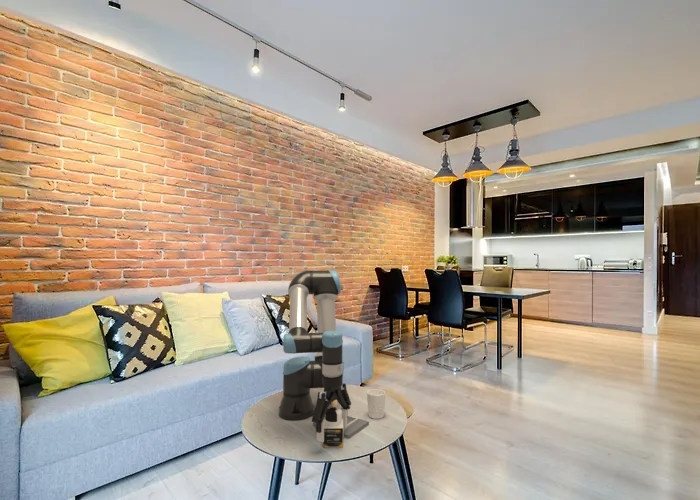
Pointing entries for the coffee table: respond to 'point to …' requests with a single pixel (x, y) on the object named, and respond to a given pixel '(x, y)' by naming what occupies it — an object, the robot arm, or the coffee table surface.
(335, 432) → the medicine bottle
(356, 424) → the peg board
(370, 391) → the white cup
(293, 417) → the robot arm
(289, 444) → the coffee table surface
